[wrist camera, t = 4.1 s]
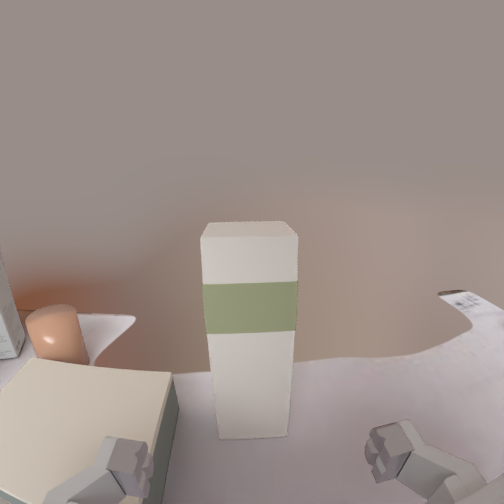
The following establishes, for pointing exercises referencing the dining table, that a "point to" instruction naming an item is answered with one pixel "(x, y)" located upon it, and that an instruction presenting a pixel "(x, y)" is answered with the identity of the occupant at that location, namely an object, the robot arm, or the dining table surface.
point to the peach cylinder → (57, 334)
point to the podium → (79, 424)
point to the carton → (250, 324)
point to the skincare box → (9, 319)
